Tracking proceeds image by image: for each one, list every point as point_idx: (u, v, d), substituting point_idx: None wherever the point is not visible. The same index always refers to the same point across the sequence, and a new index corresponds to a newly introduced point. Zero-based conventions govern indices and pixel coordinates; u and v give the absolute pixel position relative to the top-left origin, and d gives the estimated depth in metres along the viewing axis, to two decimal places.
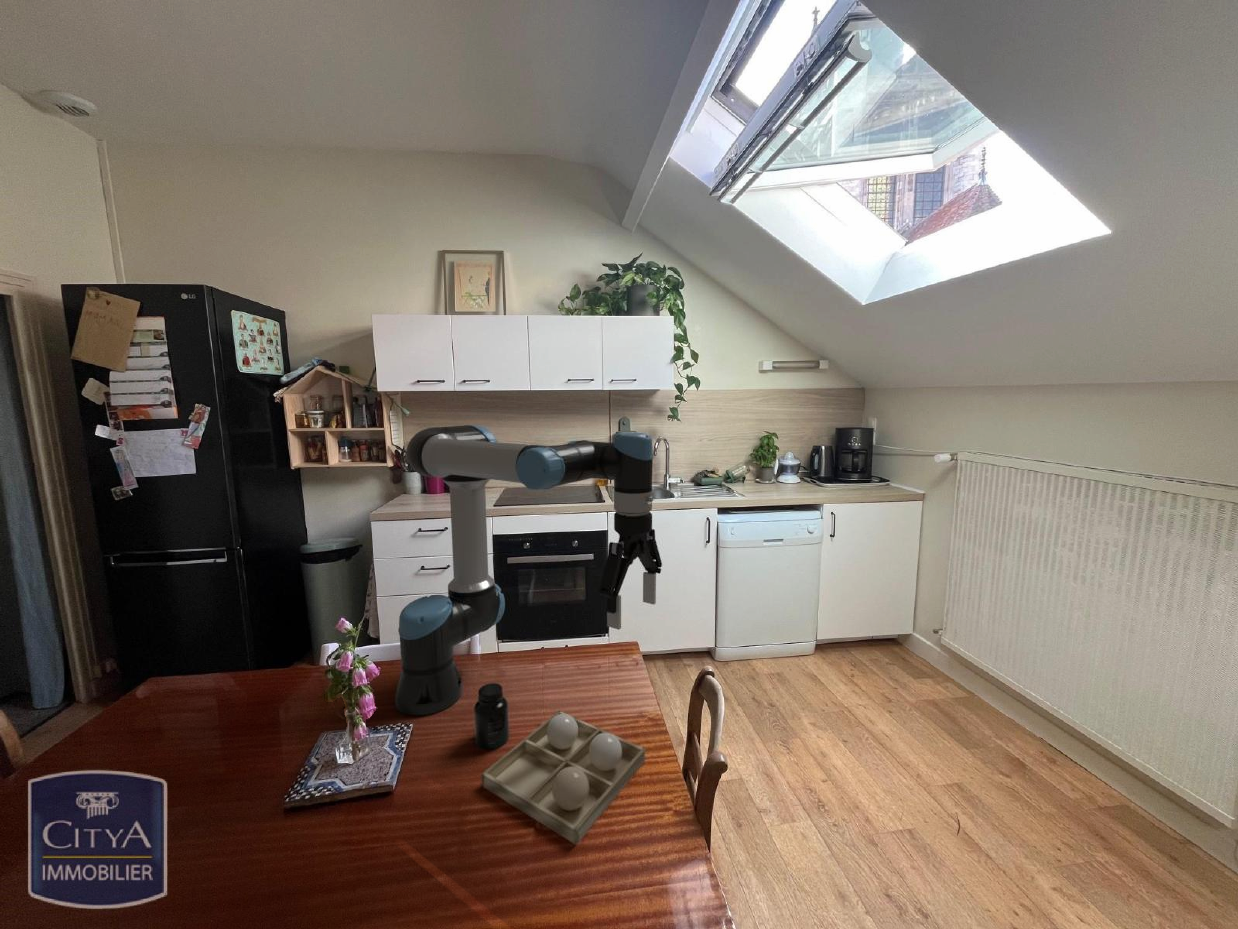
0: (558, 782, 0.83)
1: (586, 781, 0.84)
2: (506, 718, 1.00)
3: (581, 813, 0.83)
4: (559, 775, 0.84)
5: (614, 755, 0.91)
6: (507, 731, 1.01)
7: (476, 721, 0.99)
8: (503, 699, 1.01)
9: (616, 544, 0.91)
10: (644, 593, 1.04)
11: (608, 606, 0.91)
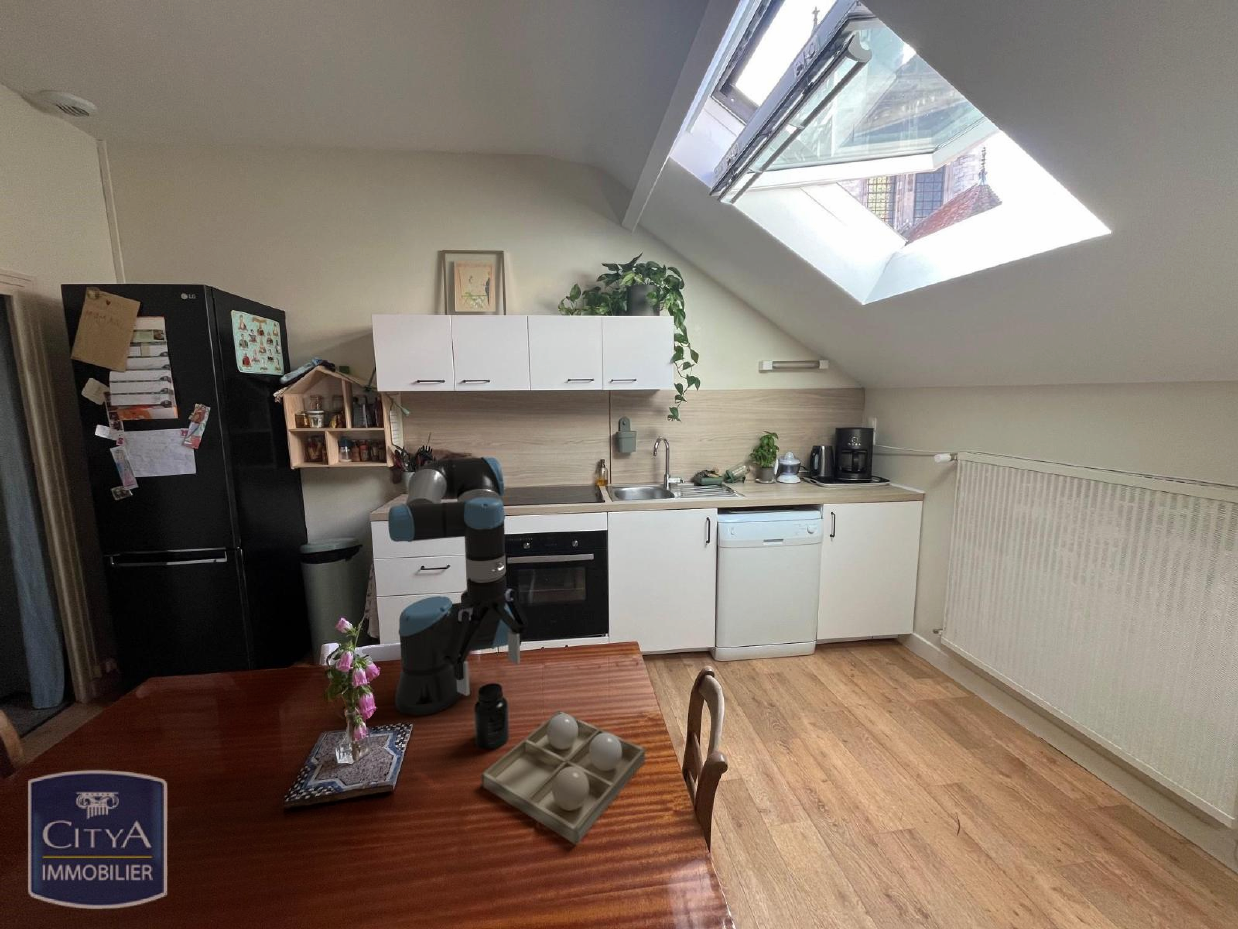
0: (558, 782, 0.83)
1: (586, 781, 0.84)
2: (506, 718, 1.00)
3: (581, 813, 0.83)
4: (559, 775, 0.84)
5: (614, 755, 0.91)
6: (507, 731, 1.01)
7: (476, 721, 0.99)
8: (503, 699, 1.01)
9: (462, 612, 0.92)
10: (509, 652, 1.05)
11: (455, 673, 0.92)
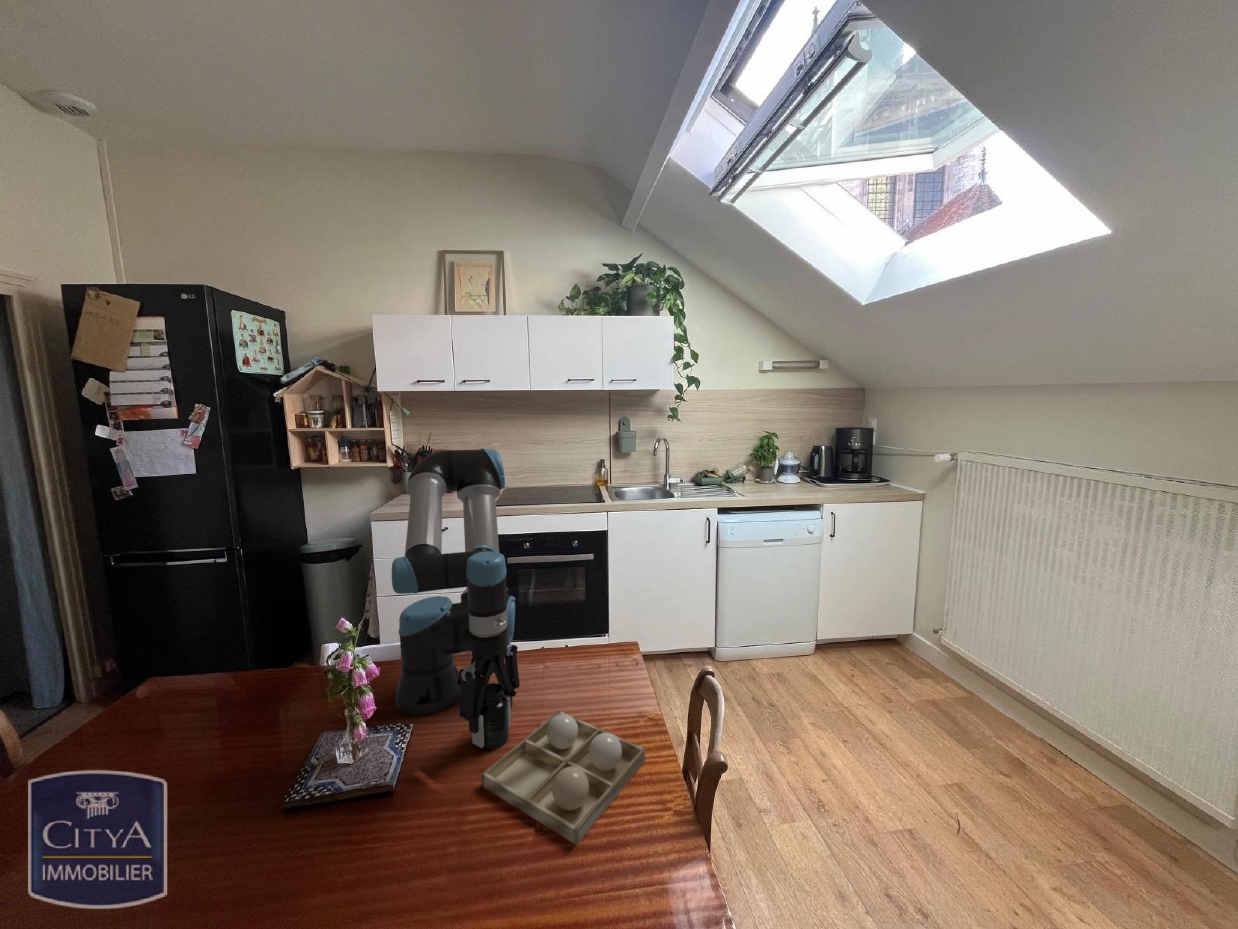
0: (558, 782, 0.83)
1: (586, 781, 0.84)
2: (506, 718, 1.00)
3: (581, 813, 0.83)
4: (559, 775, 0.84)
5: (614, 755, 0.91)
6: (507, 731, 1.01)
7: None
8: (503, 699, 1.01)
9: (464, 674, 0.94)
10: None
11: (470, 727, 0.97)
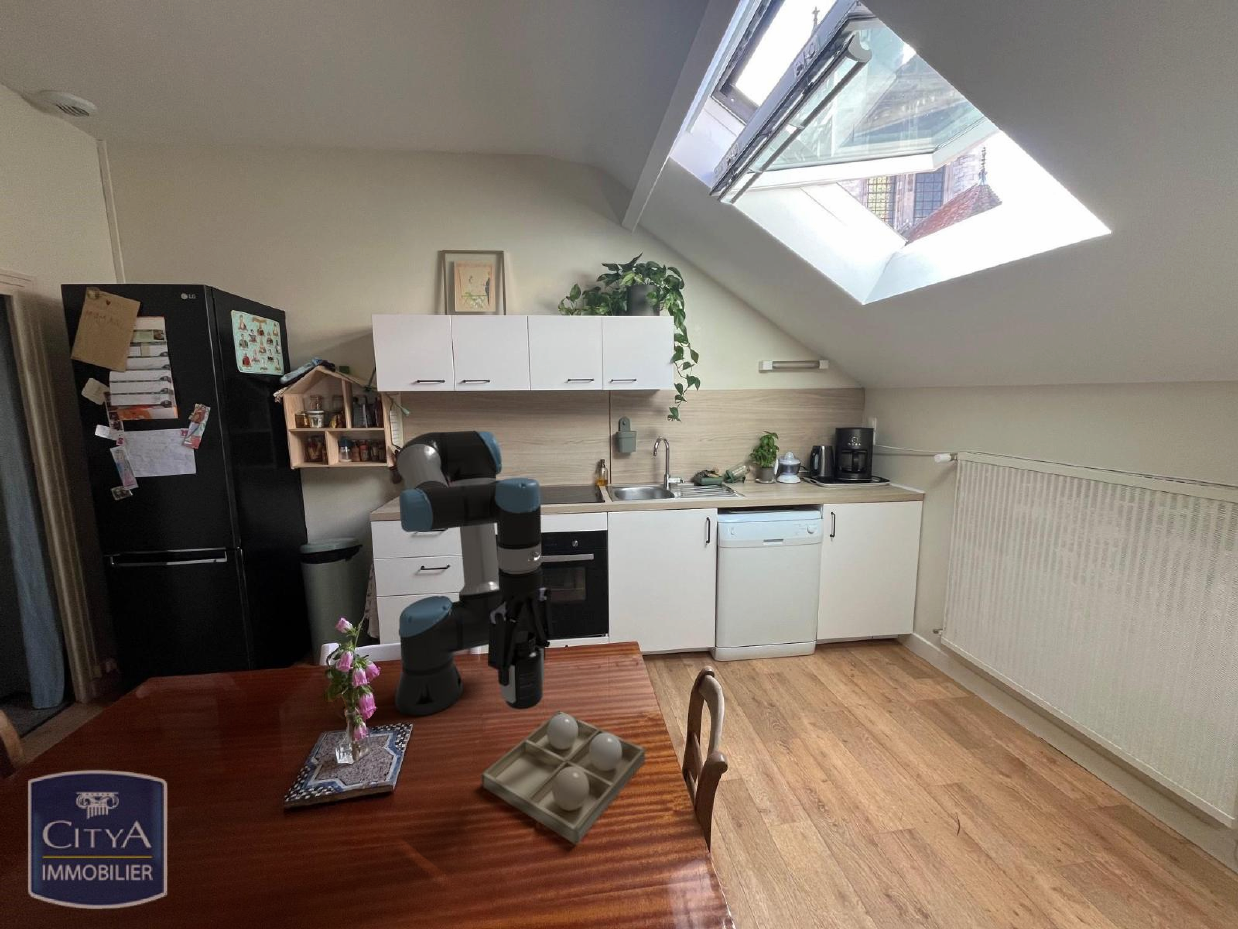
0: (558, 782, 0.83)
1: (586, 781, 0.84)
2: (540, 670, 0.87)
3: (581, 813, 0.83)
4: (559, 775, 0.84)
5: (614, 755, 0.91)
6: (541, 685, 0.88)
7: None
8: (536, 649, 0.88)
9: (494, 615, 0.81)
10: None
11: (500, 678, 0.84)
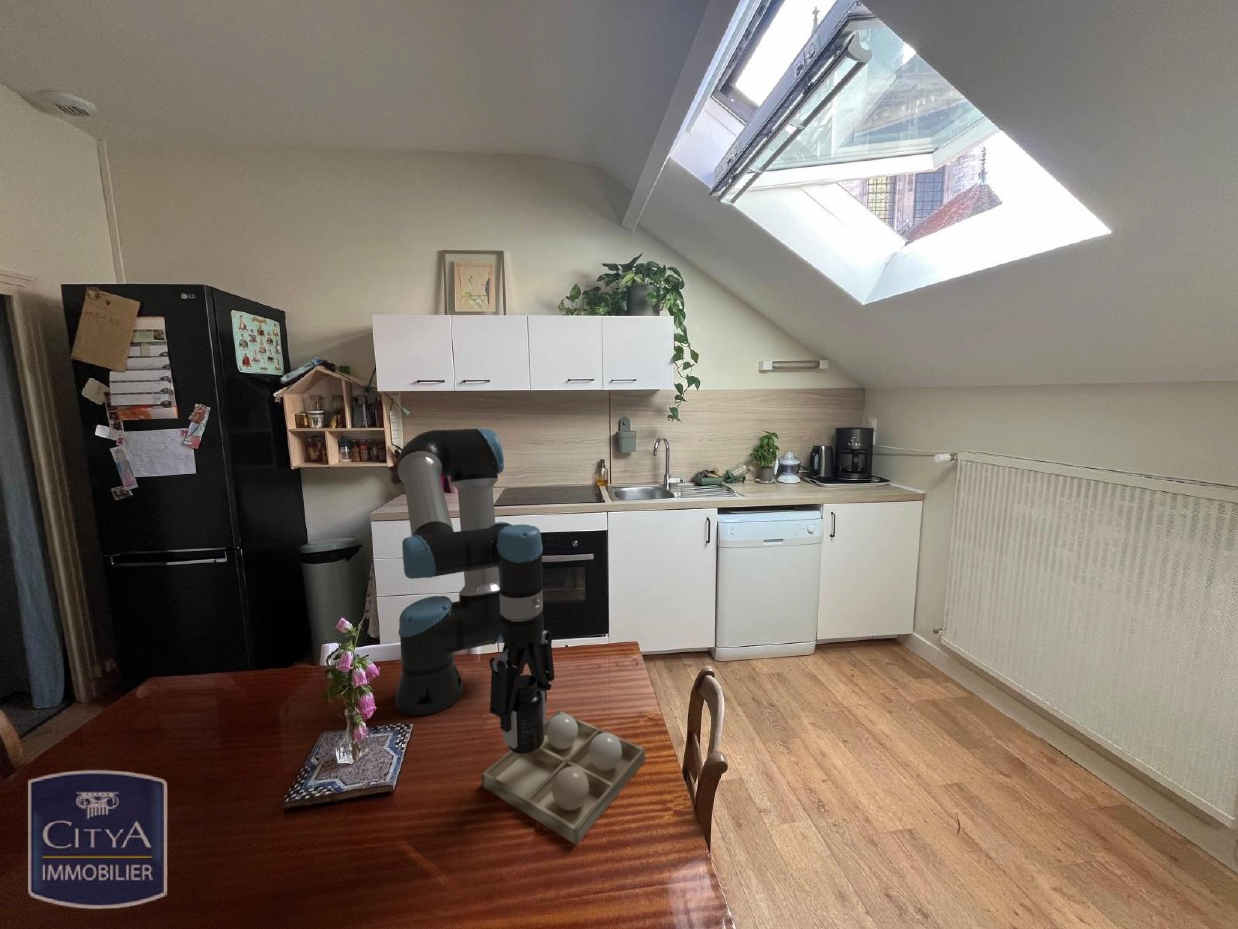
0: (558, 782, 0.83)
1: (586, 781, 0.84)
2: (541, 714, 0.88)
3: (581, 813, 0.83)
4: (559, 775, 0.84)
5: (614, 755, 0.91)
6: (542, 729, 0.89)
7: None
8: (538, 693, 0.89)
9: (496, 663, 0.82)
10: None
11: (502, 724, 0.85)
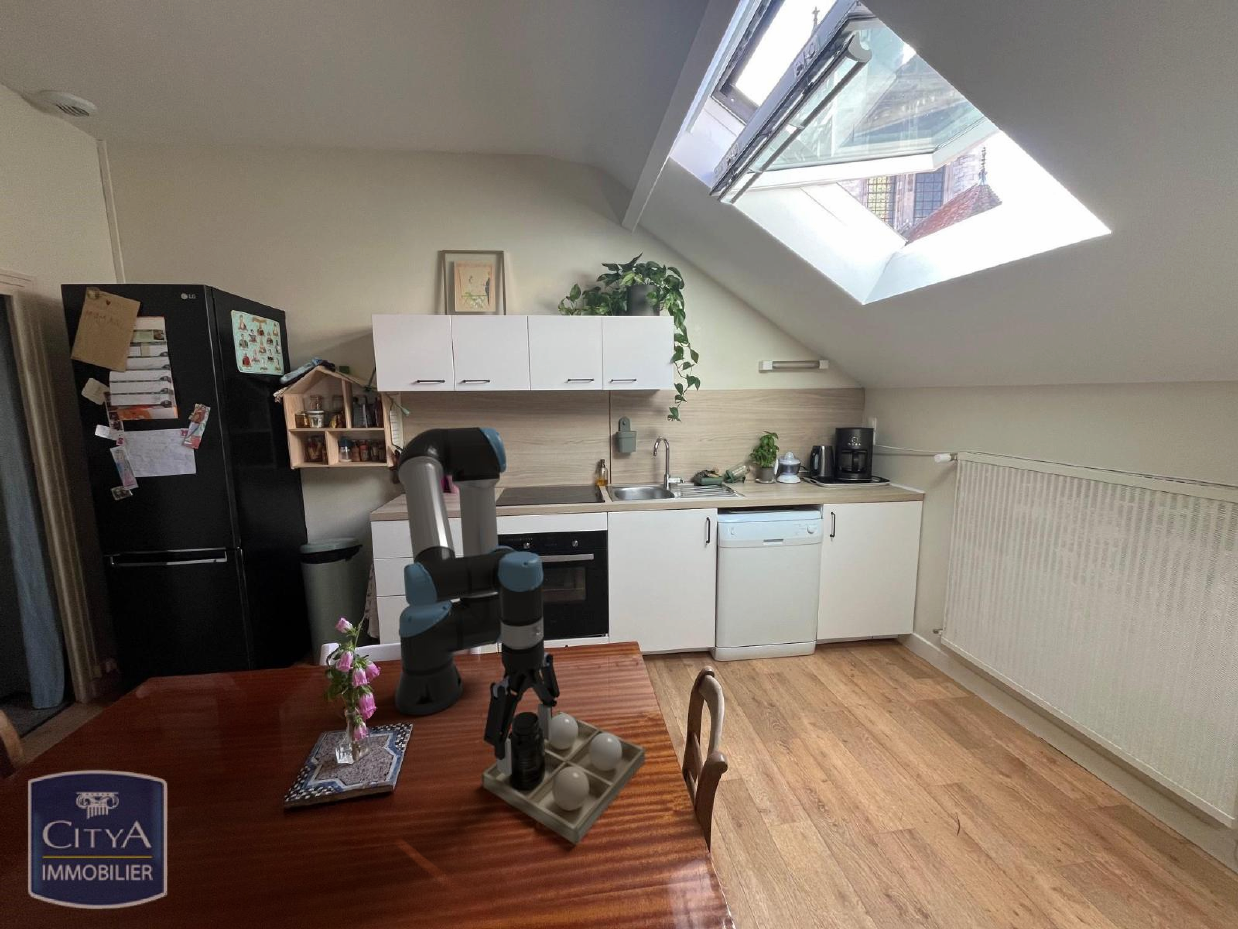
0: (558, 782, 0.83)
1: (586, 781, 0.84)
2: (543, 752, 0.89)
3: (581, 813, 0.83)
4: (559, 775, 0.84)
5: (614, 755, 0.91)
6: (543, 766, 0.90)
7: None
8: (539, 730, 0.90)
9: (497, 688, 0.82)
10: None
11: (496, 752, 0.84)
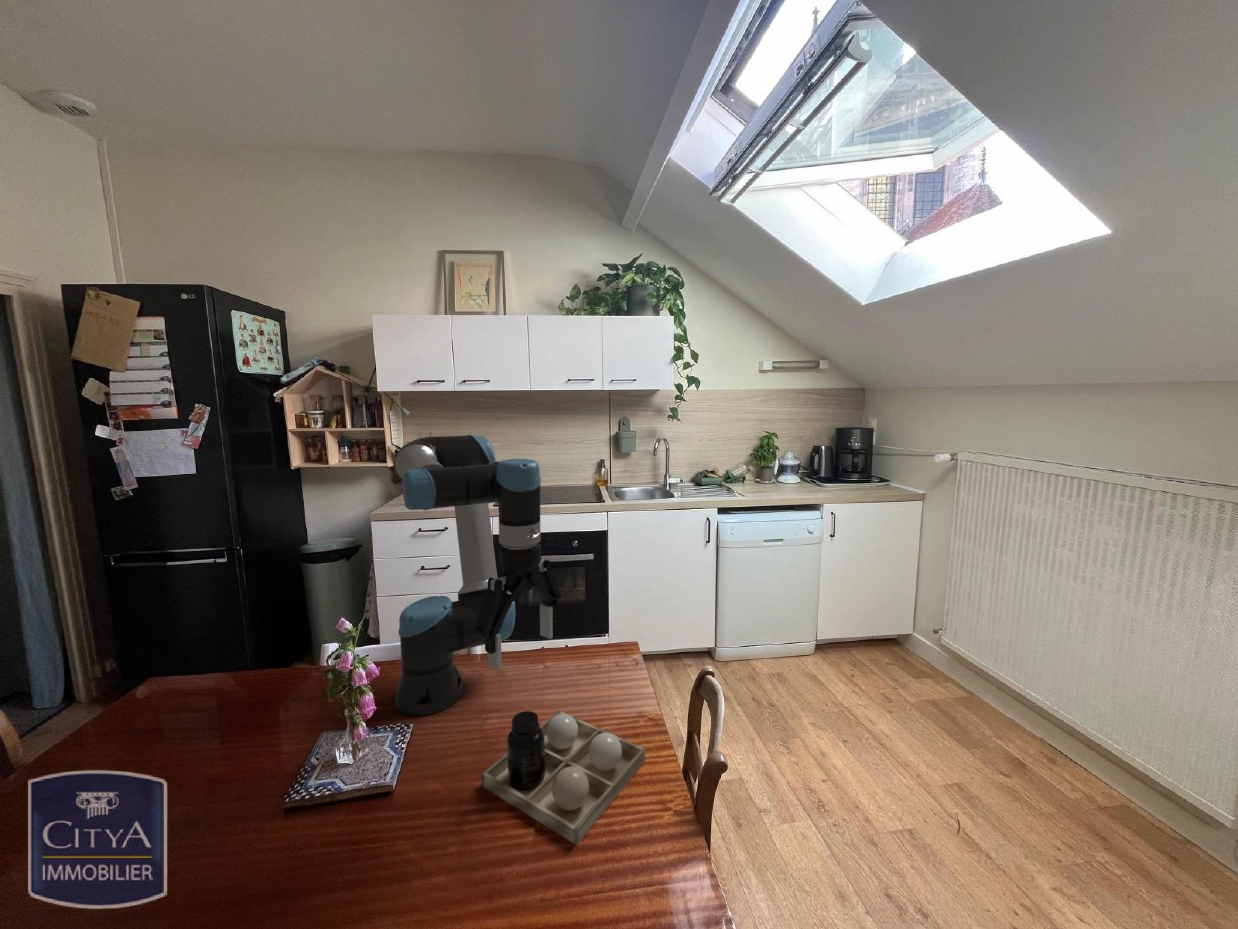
0: (558, 782, 0.83)
1: (586, 781, 0.84)
2: (542, 752, 0.89)
3: (581, 813, 0.83)
4: (559, 775, 0.84)
5: (614, 755, 0.91)
6: (543, 766, 0.90)
7: (509, 755, 0.88)
8: (539, 730, 0.90)
9: (495, 581, 0.85)
10: (541, 626, 0.99)
11: (486, 646, 0.86)
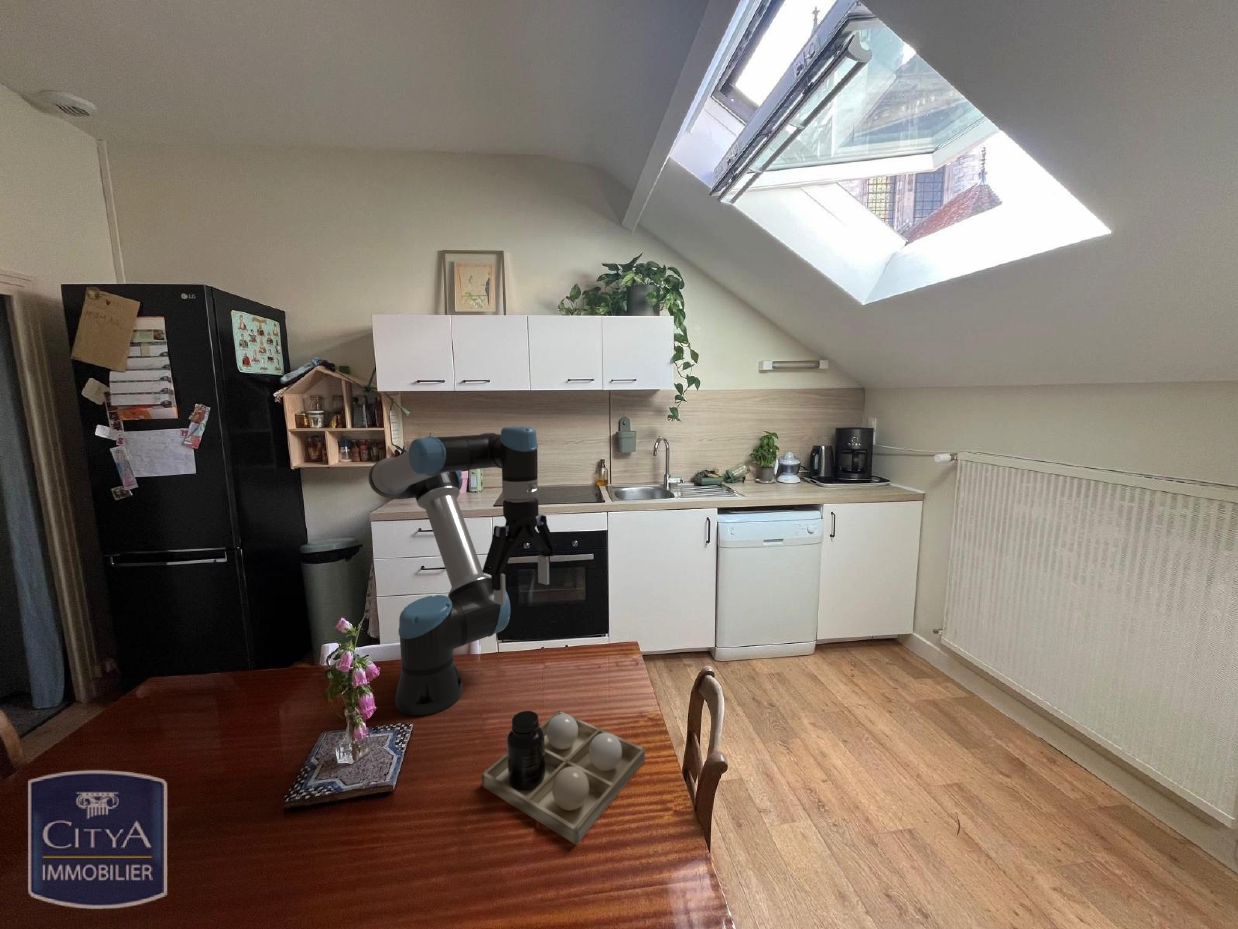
0: (558, 782, 0.83)
1: (586, 781, 0.84)
2: (542, 751, 0.89)
3: (581, 813, 0.83)
4: (559, 775, 0.84)
5: (614, 755, 0.91)
6: (543, 766, 0.90)
7: (509, 754, 0.88)
8: (539, 729, 0.91)
9: (499, 528, 1.00)
10: (539, 574, 1.14)
11: (492, 584, 1.01)
